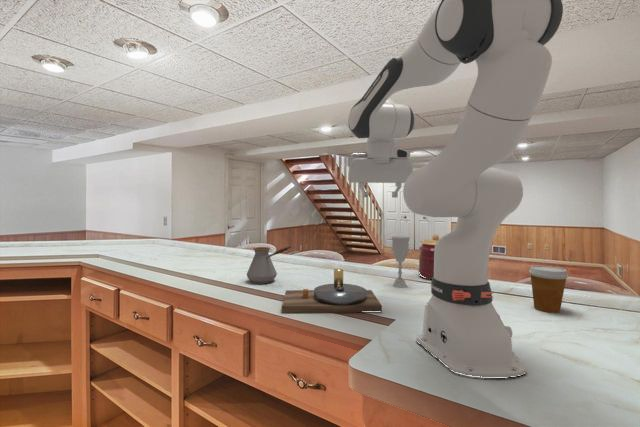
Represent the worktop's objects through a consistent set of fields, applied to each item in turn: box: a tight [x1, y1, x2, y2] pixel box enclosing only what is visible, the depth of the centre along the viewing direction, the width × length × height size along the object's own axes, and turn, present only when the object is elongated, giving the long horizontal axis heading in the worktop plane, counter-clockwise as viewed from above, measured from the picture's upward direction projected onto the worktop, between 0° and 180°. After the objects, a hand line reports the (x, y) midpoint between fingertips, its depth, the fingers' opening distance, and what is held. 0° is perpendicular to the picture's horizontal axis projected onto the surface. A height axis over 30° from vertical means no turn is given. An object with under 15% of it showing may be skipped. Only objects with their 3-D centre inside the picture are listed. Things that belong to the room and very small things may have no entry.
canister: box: [418, 234, 440, 280], centre depth 137 cm, size 13×13×18 cm
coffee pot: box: [246, 245, 294, 285], centre depth 126 cm, size 21×12×15 cm, turn 51°
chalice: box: [390, 235, 411, 288], centre depth 123 cm, size 7×7×18 cm
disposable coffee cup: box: [528, 265, 569, 314], centre depth 98 cm, size 10×10×12 cm
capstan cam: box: [313, 268, 368, 305], centre depth 102 cm, size 16×16×7 cm
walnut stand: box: [281, 288, 383, 314], centre depth 102 cm, size 16×28×4 cm, turn 92°
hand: (379, 197), depth 106 cm, fingers open, 8 cm apart
